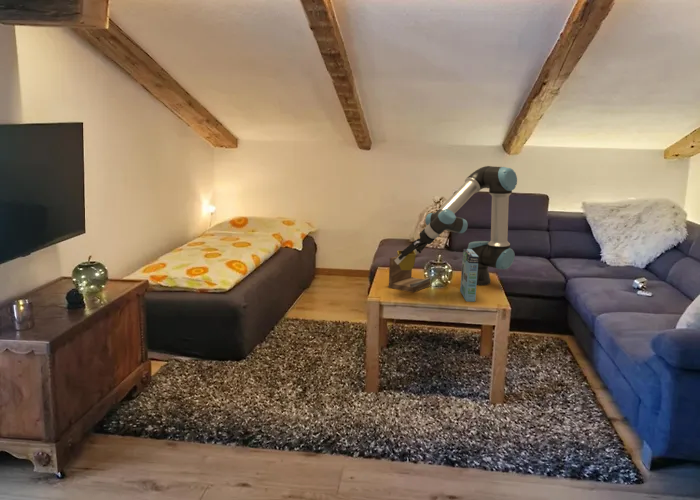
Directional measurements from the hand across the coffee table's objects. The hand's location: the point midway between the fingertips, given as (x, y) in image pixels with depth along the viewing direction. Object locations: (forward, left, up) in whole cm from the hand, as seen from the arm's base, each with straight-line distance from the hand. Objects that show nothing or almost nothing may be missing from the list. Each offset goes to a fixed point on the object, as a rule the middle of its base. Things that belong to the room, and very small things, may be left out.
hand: (402, 260), depth 314 cm
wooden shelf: (+2, -14, -17) cm, 22 cm away
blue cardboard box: (-30, -15, -17) cm, 38 cm away
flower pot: (-2, 0, -5) cm, 5 cm away
